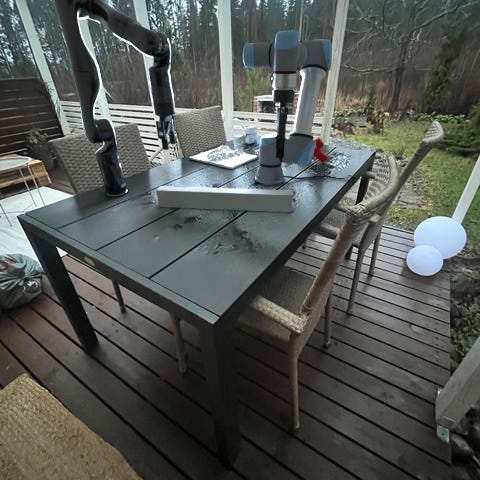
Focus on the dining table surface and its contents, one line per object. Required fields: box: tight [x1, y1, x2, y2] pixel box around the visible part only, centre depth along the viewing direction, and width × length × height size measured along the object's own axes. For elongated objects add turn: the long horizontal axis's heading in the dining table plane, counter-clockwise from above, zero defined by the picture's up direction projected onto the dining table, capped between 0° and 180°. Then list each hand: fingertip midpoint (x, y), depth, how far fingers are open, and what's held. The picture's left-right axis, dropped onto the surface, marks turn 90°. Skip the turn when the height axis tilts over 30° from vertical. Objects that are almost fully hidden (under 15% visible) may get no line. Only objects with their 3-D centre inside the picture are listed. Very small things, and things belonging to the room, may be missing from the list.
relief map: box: [189, 144, 258, 170], centre depth 177 cm, size 27×35×5 cm
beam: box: [155, 185, 294, 213], centre depth 116 cm, size 57×5×8 cm, turn 84°
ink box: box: [245, 125, 258, 145], centre depth 213 cm, size 8×5×12 cm, turn 135°
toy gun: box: [311, 136, 329, 165], centre depth 169 cm, size 18×4×15 cm
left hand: (169, 146), depth 106 cm, fingers open, 8 cm apart
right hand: (279, 152), depth 103 cm, fingers open, 13 cm apart
